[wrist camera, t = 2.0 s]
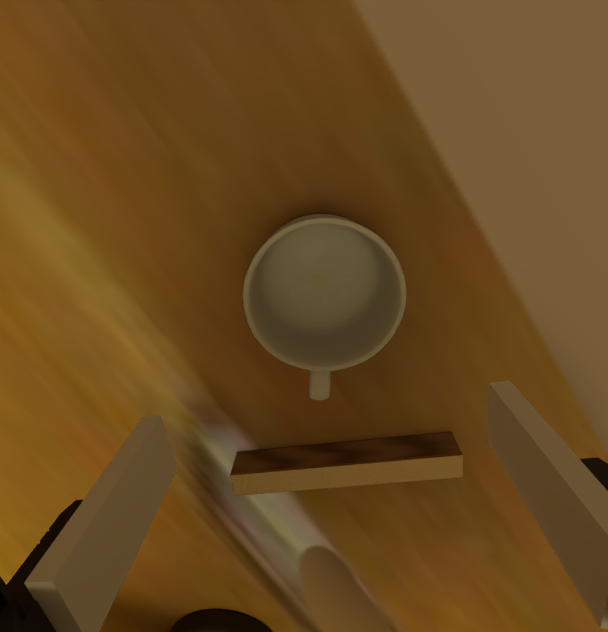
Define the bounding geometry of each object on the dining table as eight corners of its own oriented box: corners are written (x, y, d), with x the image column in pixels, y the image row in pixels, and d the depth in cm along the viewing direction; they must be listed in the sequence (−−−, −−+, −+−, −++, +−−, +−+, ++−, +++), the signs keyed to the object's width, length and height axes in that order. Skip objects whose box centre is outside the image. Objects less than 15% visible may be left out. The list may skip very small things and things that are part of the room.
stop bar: (242, 470, 40) (235, 495, 37) (237, 451, 39) (229, 475, 36) (451, 452, 38) (462, 477, 35) (451, 431, 37) (462, 455, 34)
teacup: (272, 192, 30) (256, 200, 22) (404, 223, 30) (432, 240, 23) (245, 346, 35) (225, 394, 27) (358, 370, 35) (368, 424, 28)
